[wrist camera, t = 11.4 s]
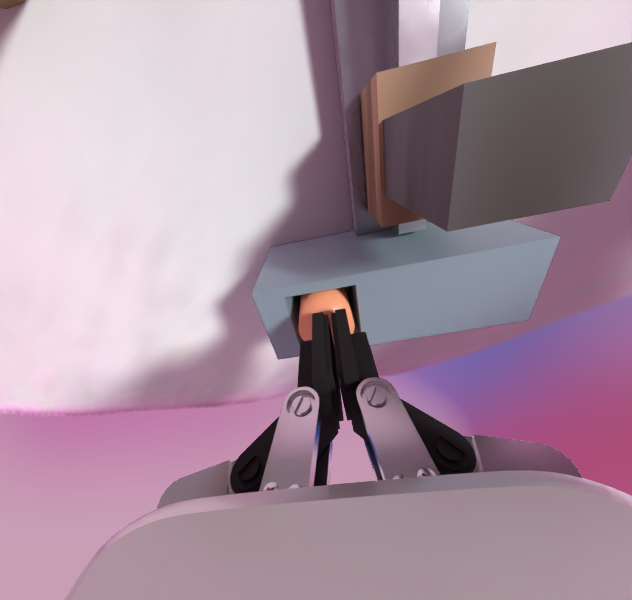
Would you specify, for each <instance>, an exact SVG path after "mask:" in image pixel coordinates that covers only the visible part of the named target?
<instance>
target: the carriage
mask: <svg viewBox="0 0 632 600" xmlns="http://www.w3.org/2000/svg"><path fill="white" fill-rule="evenodd" d="M495 48H496V42H494V43H490V44H486V45H482V46H479V47H475V48H471V49H467V50H463V51H459V52H455V53H451V54H447V55H444V56H440V57H436V58H432V59H428V60H424V61H420V62H416V63H412V64H408V65H405V66H401V67H397V68H393V69H389V70H385V71H381V72H377V73H376V74H375V75H374V76H373V77H372V79H371V80H370V81H369V82H368V84H367V85H366V86H365V87H364V88H363V90H362V91H361V92H360V98H361V112H362V127H363V142H364V156H365V171H366V186H367V200H368V213H369V214H370V215H371V216H372V217H373V219H374V220H375V221H376V222H377V223H378V224H379V225H380V226H381V227H382V228H383V227H388V226H393V225H398V224H403V223H408V222H413V221H418V220H423V219H426V220H427V221H429V222H431V223H433V224H434V225H436V226H438V227H440V228H441V229H443V230H445V231H447V232H449V231H455V230H460V229H465V228H470V227H475V226H480V225H486V224H491V223H496V222H501V221H506V220H512V219H517V218H522V217H527V216H532V215H537V214H543V213H548V212H553V211H558V210H563V209H569V208H574V207H579V206H584V205H589V204H594V203H600V202H605V201H610V199H611V197H612V195H613V193H614V191H615V188H616V186H617V184H618V182H619V180H620V178H621V176H622V173H623V171H624V169H625V167H626V165H627V163H628V161H629V158H630V156H631V154H632V42H631V43H627V44H623V45H619V46H615V47H611V48H607V49H603V50H598V51H594V52H590V53H586V54H582V55H578V56H574V57H570V58H566V59H562V60H558V61H554V62H549V63H545V64H541V65H537V66H533V67H529V68H525V69H521V70H517V71H513V72H509V73H505V74H500V75H496V76H492V77H491V73H492V66H493V60H494V54H495Z"/></svg>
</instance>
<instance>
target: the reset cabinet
mask: <svg viewBox="0 0 632 600" xmlns="http://www.w3.org/2000/svg"><path fill="white" fill-rule="evenodd" d="M560 238H561V236H558V235H555V234H552V233H549V232H546V231H543V230H540V229H537V228H534V227H531V226H528V225H525V224H522V223H519V222H516V221H513V220H506V221H501V222H496V223H491V224H486V225H480V226H475V227H470V228H465V229H460V230H455V231H449V232H447V231H445V230H443V229H441V228H440V227H438V226H436V225H434V224H433V223H431V222H428V223H426V229H425V230H419V231H414V232H409V233H404V234H398V233H397V232H395V231H394V230H393V229H392V230H387V231H382V232H377V233H372V234H367V235H362V236H357V235H356V233H355V231H354V230H353V231H348V232H343V233H338V234H333V235H328V236H323V237H318V238H313V239H308V240H303V241H298V242H293V243H288V244H283V245H278V246H273V247H270V250H269V252H268V254H267V257H266V259H265V262H264V264H263V266H262V269H261V271H260V274H259V276H258V278H257V281H256V283H255V286H254V288H253V290H252V293H251V294H252V297H253V299H254V302H255V304H256V306H257V309H258V311H259V314H260V316H261V319H262V321H263V324H264V326H265V329H266V331H267V333H268V336H269V338H270V341H271V343H272V346H273V348H274V351H275V353H276V355H277V358H278V359H285V358H291V357H297V356H300V344H301V342H302V341H304V340H303V339H302V338H301V336H300V334H299V313H300V297H301V295H302V294H308V293H313V292H319V291H324V290H330V289H335V288H341V287H345V289H346V293H347V297H348V301H349V305H350V308H351V312H352V316H353V320H354V325H355V328H354V332H353V334H354V333H360V332H366V335H367V338H368V342H369V345H374V344H380V343H387V342H393V341H400V340H406V339H412V338H419V337H425V336H432V335H438V334H444V333H451V332H457V331H463V330H470V329H476V328H483V327H489V326H495V325H502V324H508V323H515V322H521V321H527V320H529V317H530V315H531V312H532V310H533V307H534V304H535V302H536V299H537V297H538V294H539V292H540V289H541V286H542V284H543V281H544V279H545V276H546V274H547V271H548V268H549V266H550V263H551V261H552V258H553V256H554V253H555V250H556V248H557V245H558V243H559V240H560Z"/></svg>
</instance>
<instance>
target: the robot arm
mask: <svg viewBox="0 0 632 600" xmlns="http://www.w3.org/2000/svg"><path fill="white" fill-rule="evenodd" d="M331 319H332V329H333V337H332V332H331V328H330V323H329V318H328V314H323V312H319V313H313V314H312V340H308V341H302V342H301V344H300V357H299V373H298V388H296V389H294V390H292V391H291V392H290V393H289V394H288V395H287V396H286V397H285V400H284V402H283V405H282V409H281V412H280V416H279V417H278V418H277V419H276V420H275V421H274V422H273V423H272V424H271V425H270V426H269V427H268V428H267V429H266V430H265V431H264V432H263V433H262V434H261V435H260V436H259V437H258V438H257V439H256V440H255V441H254V442H253V443H252V444H251V445H250V446H249V447H248V448H247V449H246V450H245V451H244V452H243V453H242V454H241V455H240V456H239V458H238V459H237V460H236V461H234V462H230V461H226V462H223V463H221V464H218V465H216V466H213V467H210V468H207V469H205V470H202V471H199V472H197V473H194V474H191V475H189V476H186V477H183V478H181V479H179V480H177V481H175V482H174V483H172V484H171V485H170V486H169V487H168V488H167V490H166V491H165V493H164V494H163V495H162V497H161V499H160V502H159V504H158V507H157V509H156V510H154V511H152V512H150V513H148V514H146V515H144V516H142V517H140V518H138V519H137V520H135V521H133V522H132V523H130V524H129V525H127V526H126V527H124V528H123V529H122V530H120V531H119V532H118V533H116V534H115V535H114V536H113V537H111V538H110V539H109V540H108V541H107V542H106V543H105V544H104V545H103V546H102V547H101V548H100V549H99V550H98V552H97V553H96V554H95V555H94V556H93V558H92V559H91V560H90V562H89V563H88V565H87V566H86V567H85V569H84V570H83V572H82V573H81V575H80V576H79V578H78V579H77V581H76V582H75V584H74V586H73V587H72V589H71V590H70V592H69V594H68V595H67V597H66V598H65V600H632V496H631V495H629V494H626V493H624V492H622V491H619V490H617V489H614V488H612V487H609V486H606V485H603V484H600V483H596V482H594V481H590V480H587V479H583V478H582V476H581V474H580V473H579V471H578V469H577V468H576V467H575V465H574V464H573V463H572V461H571V460H570V459H569V458H568V457H566V456H565V455H564V454H563V453H561V452H560V451H558V450H556V449H555V448H553V447H551V446H549V445H545V444H541V443H537V442H528V441H520V440H512V439H504V438H496V437H488V436H480V435H473V437H467V436H462V435H461V434H459V433H458V432H456V431H455V430H453V429H451V428H450V427H448V426H446V425H445V424H443V423H441V422H439V421H438V420H436V419H434V418H433V417H431V416H429V415H427V414H426V413H424V412H422V411H421V410H419V409H417V408H415V407H414V406H412V405H410V404H409V403H407V402H405V401H403V400H402V399H400V398H399V396H398V394H397V392H396V390H395V389H394V387H393V386H392V384H391V383H389V382H388V381H387V380H384V379H382V378H379V376H378V373H377V369H376V366H375V362H374V359H373V355H372V352H371V349H370V345H369V342H368V338H367V335H366V332H360V333H354V334H351V333H350V328H349V324H348V319H347V314H346V309H345V308H343V309H337V310H335V313H331ZM333 338H334V342H333ZM340 389H341V393H340ZM341 394H342V398H343V403H344V407H345V412H346V416H347V420H352V425H353V430H354V432H356V433H357V434H358V435H359V436H360V437H362V438H363V439H364V442H365V446H366V449H367V452H368V456H369V459H370V462H371V465H372V468H373V471H374V474H375V477H376V480H377V481H369V482H357V483H346V484H335V485H330V474H331V459H332V446H333V444H332V440H333V439H334V438H335V436H336V435H337V434H338V429H340V427H339V421H343V411H342V402H341Z"/></svg>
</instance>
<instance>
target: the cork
mask: <svg viewBox="0 0 632 600" xmlns="http://www.w3.org/2000/svg"><path fill="white" fill-rule="evenodd" d="M24 1H25V0H0V7H1V8H10V7H13V6H15V5H18V4H21V3H24Z"/></svg>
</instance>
